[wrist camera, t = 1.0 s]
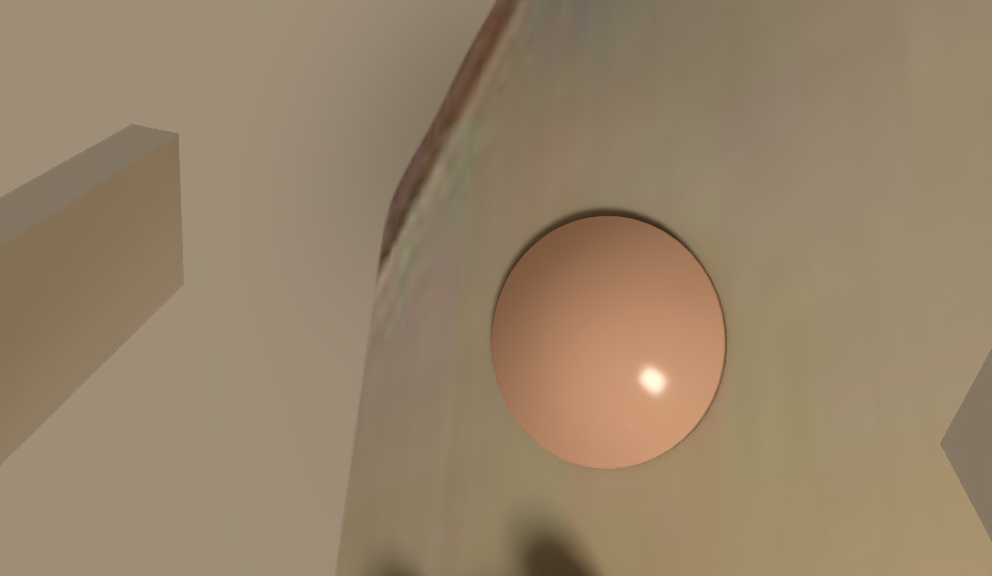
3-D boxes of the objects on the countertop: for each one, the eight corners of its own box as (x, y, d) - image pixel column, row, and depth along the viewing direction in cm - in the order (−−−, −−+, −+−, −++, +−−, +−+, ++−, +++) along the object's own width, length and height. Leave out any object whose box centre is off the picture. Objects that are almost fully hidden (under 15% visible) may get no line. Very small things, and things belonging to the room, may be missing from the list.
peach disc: (611, 167, 40) (606, 164, 39) (784, 350, 35) (781, 350, 34) (458, 333, 44) (452, 332, 43) (594, 518, 39) (589, 521, 38)
